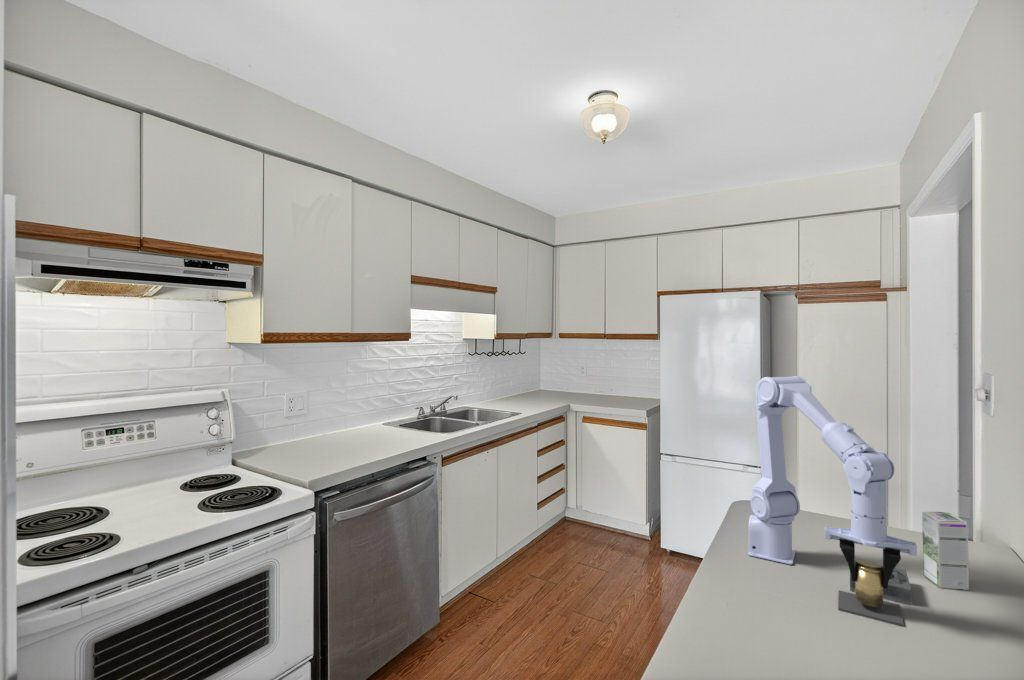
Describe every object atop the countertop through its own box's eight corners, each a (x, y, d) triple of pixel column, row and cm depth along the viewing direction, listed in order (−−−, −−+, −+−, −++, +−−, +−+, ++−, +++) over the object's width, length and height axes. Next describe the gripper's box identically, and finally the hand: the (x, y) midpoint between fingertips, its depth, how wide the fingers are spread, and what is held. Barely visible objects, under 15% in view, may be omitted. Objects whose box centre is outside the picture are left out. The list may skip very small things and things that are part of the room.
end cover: (855, 602, 95) (855, 566, 95) (855, 592, 99) (855, 558, 99) (883, 609, 93) (883, 572, 93) (882, 599, 96) (882, 563, 96)
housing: (850, 590, 103) (850, 576, 103) (849, 571, 111) (849, 558, 111) (911, 604, 97) (911, 589, 97) (906, 583, 105) (905, 569, 105)
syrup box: (970, 590, 102) (970, 521, 102) (937, 588, 103) (937, 520, 103) (951, 577, 108) (951, 512, 108) (921, 575, 109) (920, 510, 109)
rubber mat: (838, 609, 95) (838, 607, 95) (838, 592, 102) (838, 590, 102) (903, 626, 90) (903, 624, 90) (899, 606, 96) (899, 604, 96)
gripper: (824, 512, 97) (824, 580, 97) (918, 528, 88) (919, 602, 89) (825, 502, 102) (825, 566, 103) (914, 516, 94) (914, 586, 94)
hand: (868, 582), depth 96 cm, fingers closed on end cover, 4 cm apart
